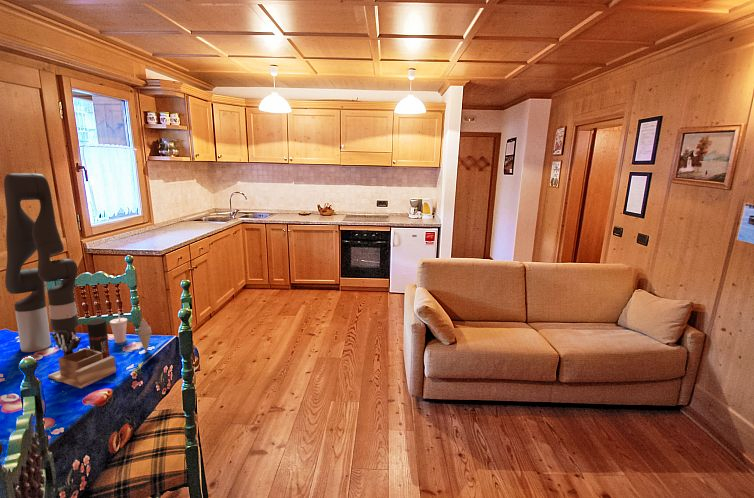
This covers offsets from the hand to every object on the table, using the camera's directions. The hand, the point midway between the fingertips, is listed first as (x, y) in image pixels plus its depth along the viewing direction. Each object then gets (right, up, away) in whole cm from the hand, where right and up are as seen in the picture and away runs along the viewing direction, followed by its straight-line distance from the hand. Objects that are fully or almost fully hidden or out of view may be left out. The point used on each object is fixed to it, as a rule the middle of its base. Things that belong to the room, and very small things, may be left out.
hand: (69, 359), depth 135 cm
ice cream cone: (+17, -2, +18) cm, 25 cm away
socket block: (+6, -4, -1) cm, 8 cm away
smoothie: (+1, 0, +26) cm, 26 cm away
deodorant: (+3, -3, +11) cm, 12 cm away
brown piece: (+6, -5, -1) cm, 8 cm away
